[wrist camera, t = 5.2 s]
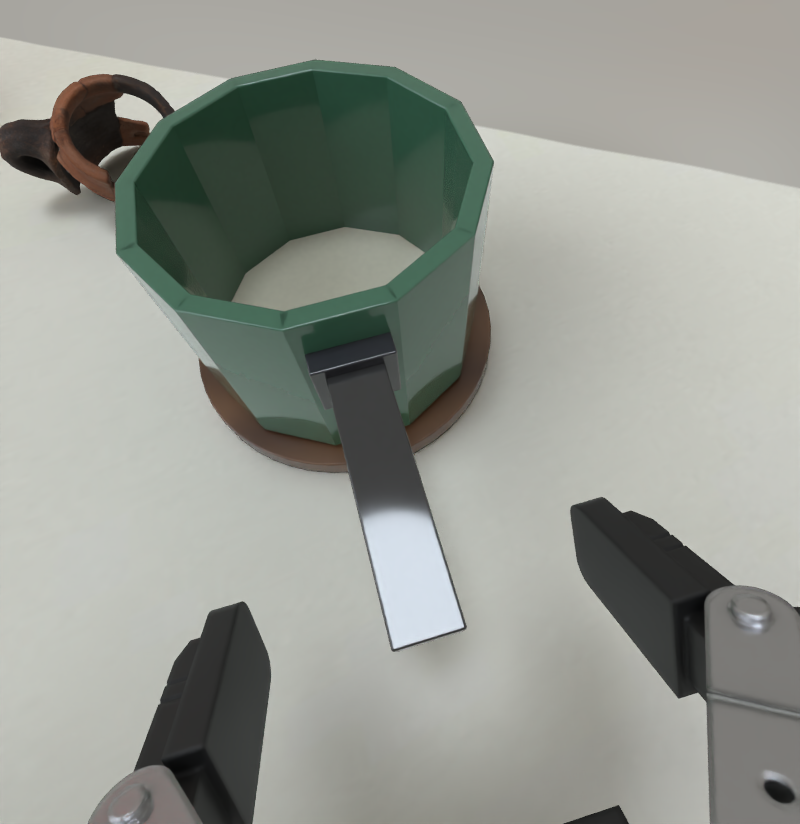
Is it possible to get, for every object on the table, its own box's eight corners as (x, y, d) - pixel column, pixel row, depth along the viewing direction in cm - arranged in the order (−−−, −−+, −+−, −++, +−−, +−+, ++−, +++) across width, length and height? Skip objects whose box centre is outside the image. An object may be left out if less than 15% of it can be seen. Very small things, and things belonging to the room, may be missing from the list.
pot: (205, 262, 31) (112, 103, 22) (426, 207, 32) (425, 33, 23) (261, 696, 20) (125, 733, 11) (592, 593, 21) (710, 552, 12)
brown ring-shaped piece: (188, 131, 40) (177, 54, 32) (213, 245, 40) (209, 196, 32) (13, 135, 36) (-47, 48, 28) (42, 260, 36) (-11, 209, 28)
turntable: (540, 407, 27) (544, 397, 26) (239, 520, 25) (230, 514, 24) (425, 204, 34) (424, 190, 33) (185, 280, 32) (176, 268, 31)
